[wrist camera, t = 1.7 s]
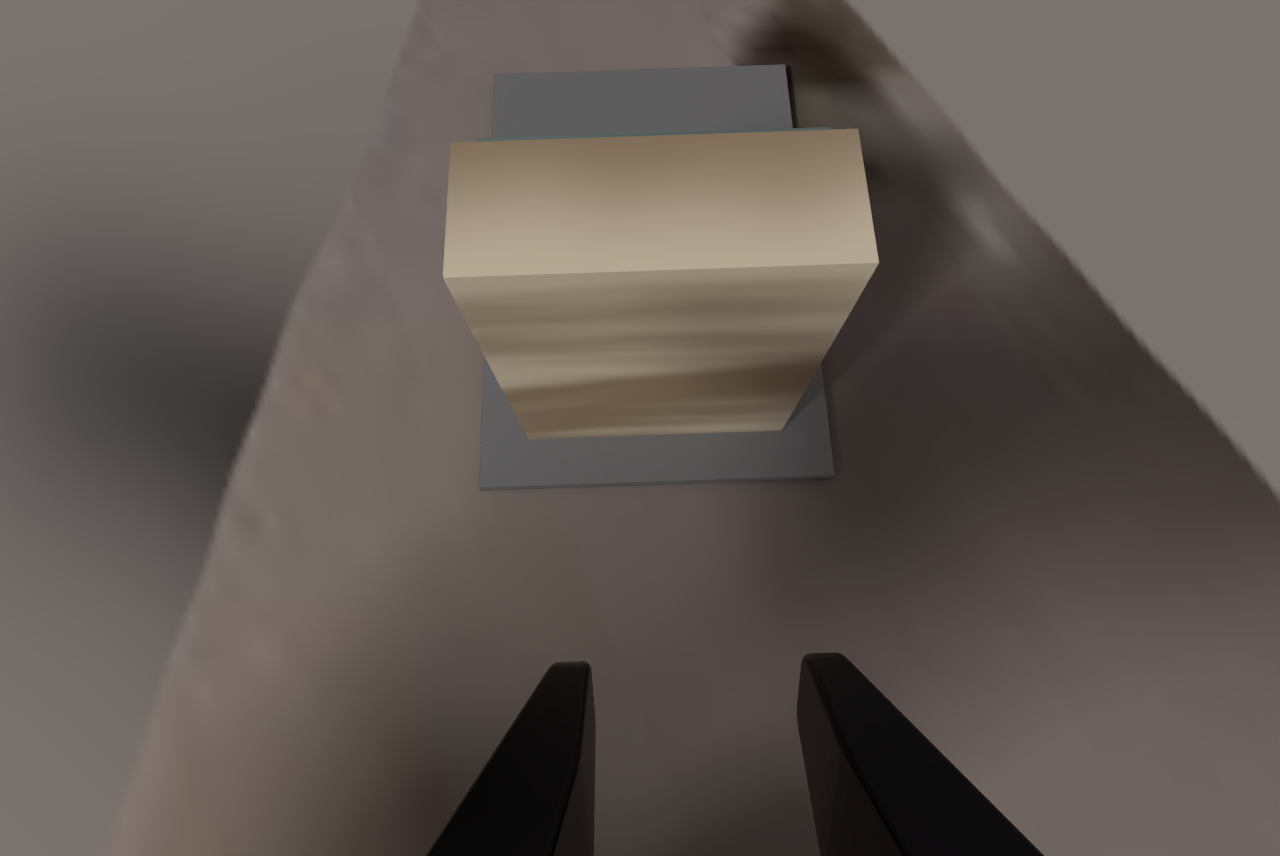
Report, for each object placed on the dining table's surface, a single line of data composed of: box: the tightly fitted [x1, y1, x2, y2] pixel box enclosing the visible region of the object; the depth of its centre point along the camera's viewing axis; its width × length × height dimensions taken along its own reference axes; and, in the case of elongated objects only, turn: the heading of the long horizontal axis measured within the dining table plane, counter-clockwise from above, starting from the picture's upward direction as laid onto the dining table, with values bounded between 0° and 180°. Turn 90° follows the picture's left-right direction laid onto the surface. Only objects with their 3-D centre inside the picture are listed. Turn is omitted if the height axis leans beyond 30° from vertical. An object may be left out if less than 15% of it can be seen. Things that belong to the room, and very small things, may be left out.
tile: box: [443, 127, 879, 439], centre depth 18 cm, size 3×8×10 cm, turn 92°
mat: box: [479, 65, 835, 491], centre depth 25 cm, size 16×11×1 cm
